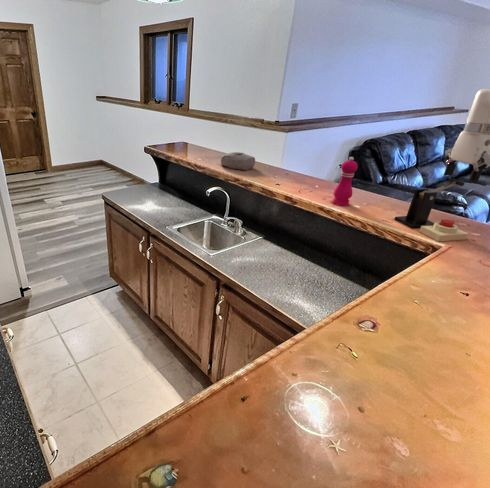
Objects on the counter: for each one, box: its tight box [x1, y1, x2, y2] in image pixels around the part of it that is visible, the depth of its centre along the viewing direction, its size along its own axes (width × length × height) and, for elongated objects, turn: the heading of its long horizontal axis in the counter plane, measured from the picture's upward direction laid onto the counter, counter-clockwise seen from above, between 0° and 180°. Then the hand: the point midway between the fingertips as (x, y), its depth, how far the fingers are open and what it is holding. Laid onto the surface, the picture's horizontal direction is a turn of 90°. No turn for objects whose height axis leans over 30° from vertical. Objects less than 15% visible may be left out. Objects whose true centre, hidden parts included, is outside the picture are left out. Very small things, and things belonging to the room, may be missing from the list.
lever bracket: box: [393, 188, 438, 230], centre depth 128 cm, size 10×9×13 cm
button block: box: [418, 220, 469, 242], centre depth 121 cm, size 11×8×4 cm
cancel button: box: [440, 218, 455, 228], centre depth 120 cm, size 4×4×2 cm
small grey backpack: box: [219, 151, 256, 171], centre depth 204 cm, size 15×8×20 cm
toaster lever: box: [419, 178, 465, 200], centre depth 126 cm, size 14×5×2 cm, turn 99°
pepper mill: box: [332, 156, 359, 207], centre depth 146 cm, size 7×7×20 cm
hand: (459, 178), depth 125 cm, fingers open, 9 cm apart
